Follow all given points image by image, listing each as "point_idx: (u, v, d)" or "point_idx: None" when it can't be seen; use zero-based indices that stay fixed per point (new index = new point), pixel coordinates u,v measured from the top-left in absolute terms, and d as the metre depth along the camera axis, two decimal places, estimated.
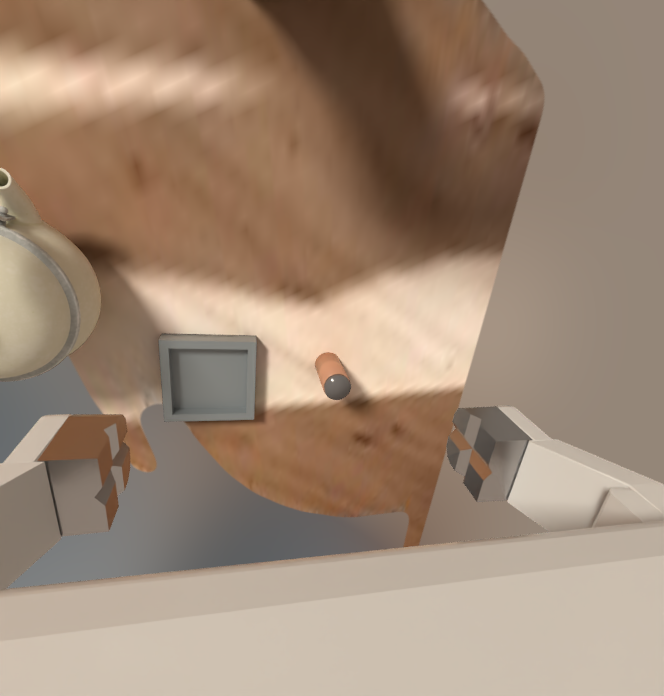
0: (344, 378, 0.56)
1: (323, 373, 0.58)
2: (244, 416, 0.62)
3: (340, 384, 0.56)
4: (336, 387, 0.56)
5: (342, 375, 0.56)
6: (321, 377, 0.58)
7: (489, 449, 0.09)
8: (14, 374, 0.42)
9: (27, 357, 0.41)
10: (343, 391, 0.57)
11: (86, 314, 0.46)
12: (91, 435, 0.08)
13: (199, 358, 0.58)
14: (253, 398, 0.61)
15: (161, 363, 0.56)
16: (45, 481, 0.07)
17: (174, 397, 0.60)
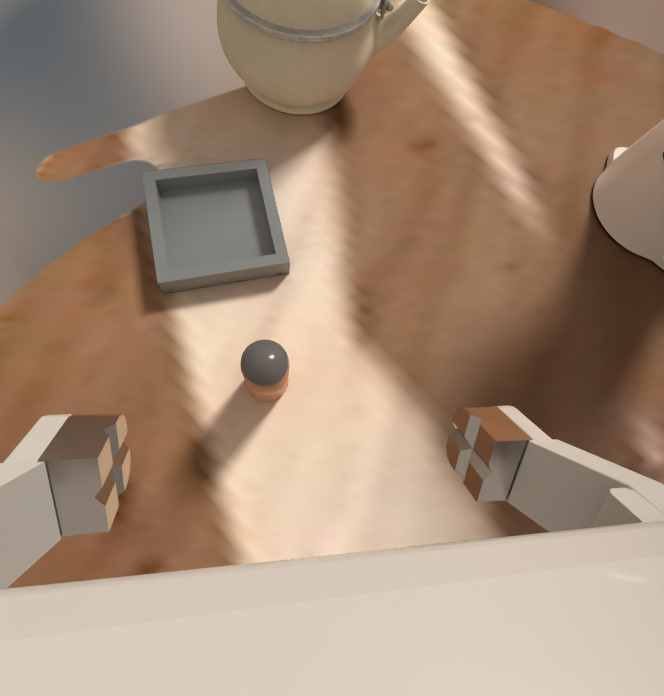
0: (285, 367, 0.32)
1: None
2: (162, 268, 0.39)
3: (272, 364, 0.32)
4: (265, 359, 0.32)
5: (287, 365, 0.33)
6: None
7: (489, 449, 0.09)
8: None
9: None
10: (260, 373, 0.32)
11: (303, 63, 0.42)
12: (91, 435, 0.08)
13: (243, 210, 0.44)
14: (197, 275, 0.40)
15: (234, 162, 0.44)
16: (45, 481, 0.07)
17: (178, 189, 0.44)
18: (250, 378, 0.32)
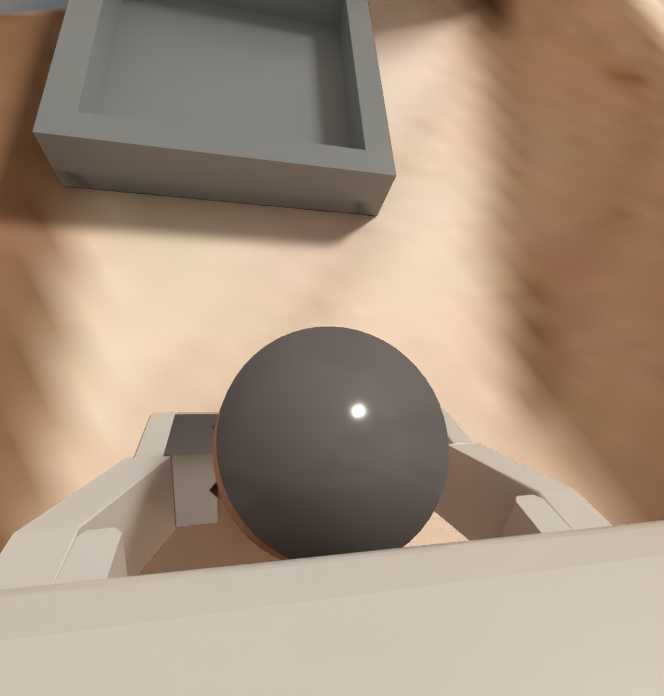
0: (436, 480, 0.06)
1: None
2: (60, 103, 0.14)
3: (377, 452, 0.06)
4: (346, 420, 0.06)
5: None
6: None
7: None
8: None
9: None
10: (309, 495, 0.06)
11: None
12: (202, 432, 0.08)
13: (299, 69, 0.20)
14: (153, 142, 0.14)
15: None
16: (170, 474, 0.07)
17: None
18: (252, 517, 0.06)
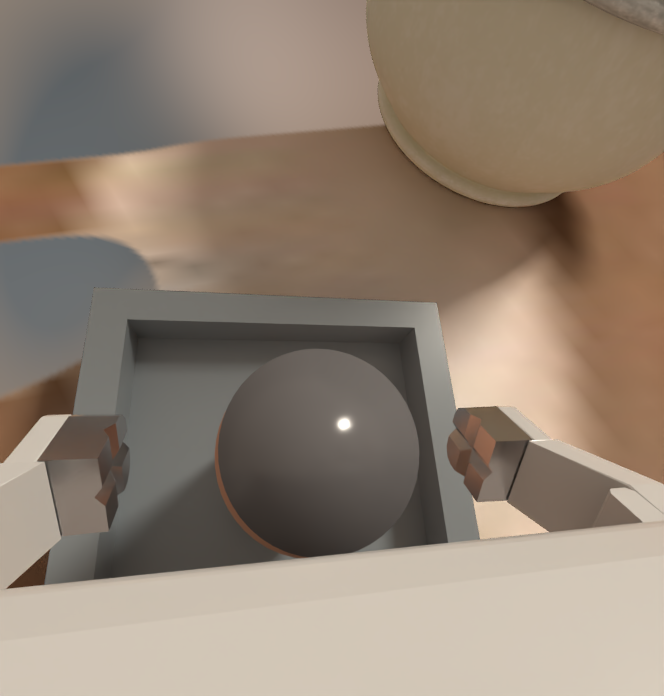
0: (407, 483, 0.07)
1: None
2: None
3: (356, 459, 0.07)
4: (329, 431, 0.07)
5: None
6: None
7: (489, 449, 0.09)
8: None
9: None
10: (297, 496, 0.07)
11: (608, 92, 0.15)
12: (91, 435, 0.08)
13: None
14: None
15: (359, 302, 0.16)
16: (45, 481, 0.07)
17: (191, 342, 0.16)
18: (248, 514, 0.07)
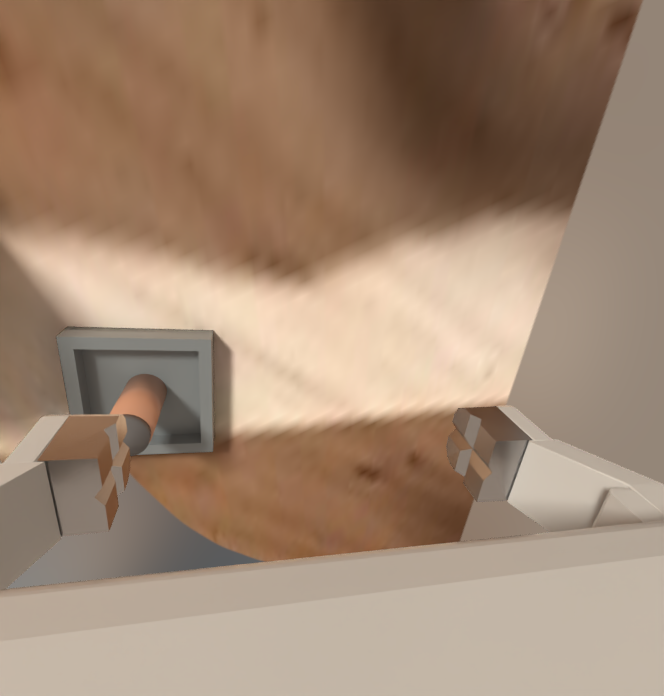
0: (133, 422, 0.33)
1: (111, 411, 0.35)
2: (198, 447, 0.43)
3: (128, 432, 0.33)
4: None
5: (132, 417, 0.33)
6: None
7: (489, 449, 0.09)
8: None
9: None
10: (137, 443, 0.34)
11: None
12: (91, 435, 0.08)
13: (127, 364, 0.39)
14: (210, 422, 0.42)
15: (64, 371, 0.37)
16: (45, 481, 0.07)
17: None
18: (140, 451, 0.34)
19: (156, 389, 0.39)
